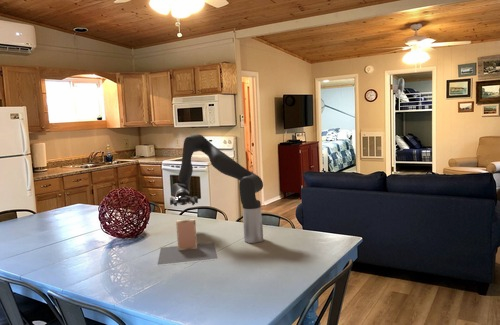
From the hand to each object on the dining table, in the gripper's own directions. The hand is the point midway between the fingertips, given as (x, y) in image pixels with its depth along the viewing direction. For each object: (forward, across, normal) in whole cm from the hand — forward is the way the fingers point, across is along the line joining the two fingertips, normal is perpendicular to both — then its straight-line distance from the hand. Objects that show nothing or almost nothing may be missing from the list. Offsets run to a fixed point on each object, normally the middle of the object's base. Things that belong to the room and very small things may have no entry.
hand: (184, 203), depth 202 cm
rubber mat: (+19, 0, +19) cm, 27 cm away
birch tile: (+13, 0, +19) cm, 23 cm away
